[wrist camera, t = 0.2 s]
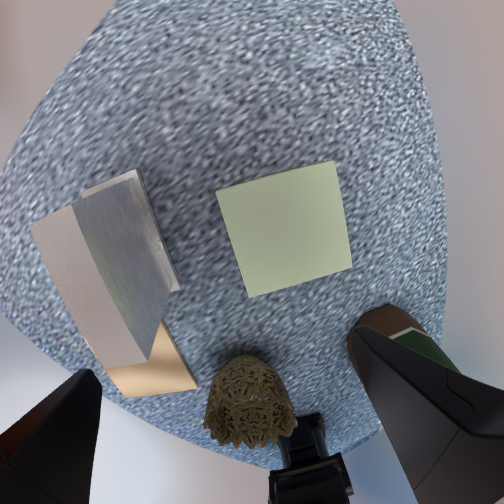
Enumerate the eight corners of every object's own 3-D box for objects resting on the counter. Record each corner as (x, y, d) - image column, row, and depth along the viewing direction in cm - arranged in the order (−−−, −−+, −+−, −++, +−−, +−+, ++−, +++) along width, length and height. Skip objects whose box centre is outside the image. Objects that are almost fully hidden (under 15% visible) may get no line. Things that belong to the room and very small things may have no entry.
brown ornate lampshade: (197, 341, 26) (190, 408, 18) (276, 327, 26) (293, 392, 18) (218, 392, 28) (218, 454, 21) (286, 380, 28) (300, 441, 21)
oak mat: (198, 384, 28) (198, 388, 27) (127, 394, 28) (126, 398, 27) (161, 317, 24) (160, 320, 24) (85, 334, 25) (83, 337, 24)
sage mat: (349, 264, 24) (352, 267, 23) (248, 294, 24) (249, 298, 24) (331, 159, 21) (334, 160, 20) (215, 190, 21) (215, 192, 20)
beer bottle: (362, 372, 29) (446, 552, 7) (330, 336, 27) (431, 570, 4) (417, 330, 28) (533, 492, 6) (393, 286, 25) (553, 486, 3)
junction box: (181, 284, 23) (160, 366, 14) (130, 298, 24) (91, 376, 14) (138, 167, 20) (75, 189, 11) (85, 190, 20) (9, 226, 11)
